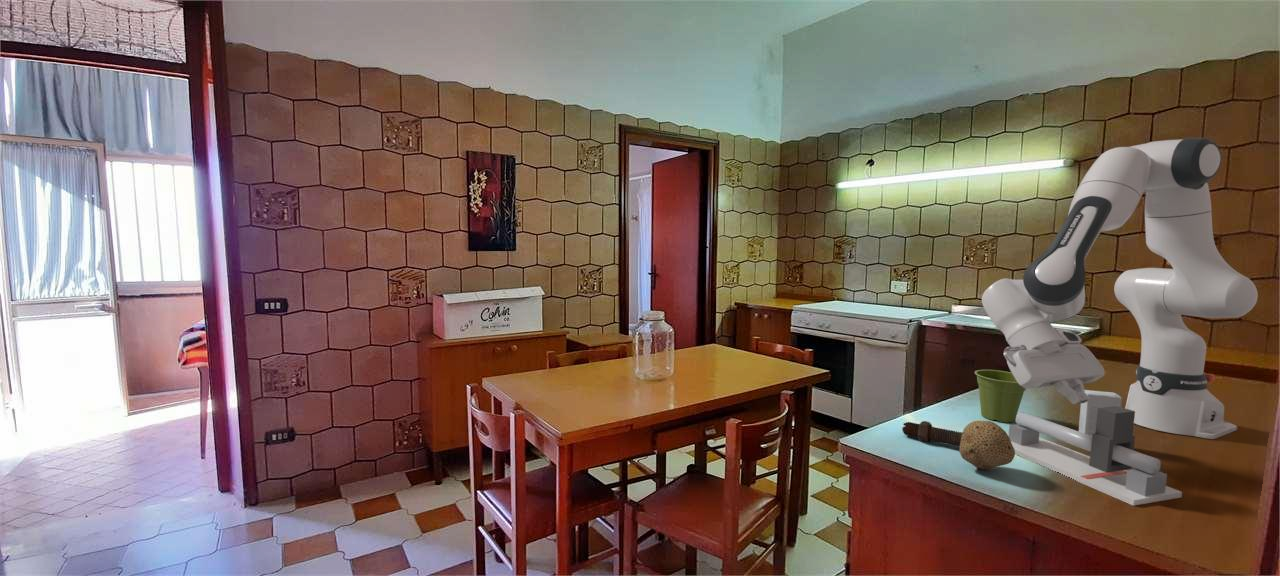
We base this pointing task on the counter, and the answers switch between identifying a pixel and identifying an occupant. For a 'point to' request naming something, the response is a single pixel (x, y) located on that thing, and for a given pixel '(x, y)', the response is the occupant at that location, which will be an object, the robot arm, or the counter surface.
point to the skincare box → (1095, 409)
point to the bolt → (932, 433)
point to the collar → (1111, 437)
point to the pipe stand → (1122, 485)
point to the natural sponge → (986, 445)
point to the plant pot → (999, 395)
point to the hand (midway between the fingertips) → (1081, 402)
